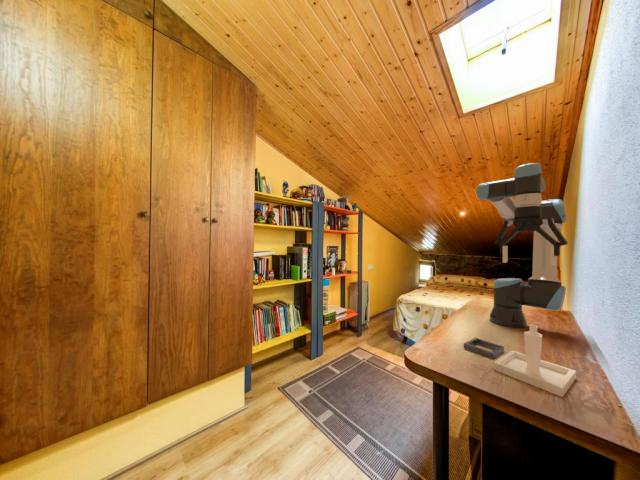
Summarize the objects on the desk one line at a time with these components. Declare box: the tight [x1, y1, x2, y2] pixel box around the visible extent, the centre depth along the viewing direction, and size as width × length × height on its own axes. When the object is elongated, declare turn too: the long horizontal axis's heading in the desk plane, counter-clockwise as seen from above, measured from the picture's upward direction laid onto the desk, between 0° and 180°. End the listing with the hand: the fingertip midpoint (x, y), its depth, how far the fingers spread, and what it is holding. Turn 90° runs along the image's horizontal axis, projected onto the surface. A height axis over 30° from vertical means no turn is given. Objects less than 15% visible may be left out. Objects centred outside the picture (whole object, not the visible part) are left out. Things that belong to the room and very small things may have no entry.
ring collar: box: [463, 337, 505, 360], centre depth 90 cm, size 10×10×2 cm
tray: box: [493, 350, 577, 398], centre depth 74 cm, size 16×16×2 cm
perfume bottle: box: [523, 324, 543, 376], centre depth 74 cm, size 5×4×15 cm
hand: (527, 263), depth 85 cm, fingers open, 13 cm apart
